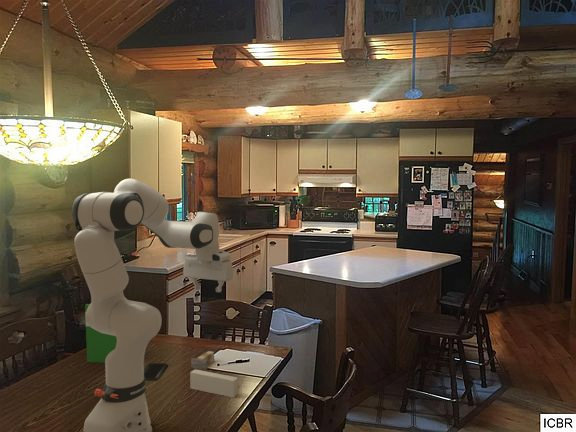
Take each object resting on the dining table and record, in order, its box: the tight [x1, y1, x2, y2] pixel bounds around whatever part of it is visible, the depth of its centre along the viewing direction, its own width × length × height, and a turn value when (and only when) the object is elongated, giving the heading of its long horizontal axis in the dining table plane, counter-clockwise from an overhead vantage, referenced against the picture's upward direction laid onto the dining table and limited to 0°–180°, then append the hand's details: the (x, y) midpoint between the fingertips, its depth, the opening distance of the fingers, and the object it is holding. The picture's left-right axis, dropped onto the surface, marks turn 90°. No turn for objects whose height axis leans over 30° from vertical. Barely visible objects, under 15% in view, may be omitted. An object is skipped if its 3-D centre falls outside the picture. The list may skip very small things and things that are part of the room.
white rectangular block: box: [189, 368, 239, 399], centre depth 175 cm, size 9×18×6 cm, turn 66°
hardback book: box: [84, 303, 117, 363], centre depth 202 cm, size 18×7×24 cm, turn 85°
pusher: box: [190, 350, 215, 371], centre depth 197 cm, size 9×7×4 cm
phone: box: [144, 362, 169, 382], centre depth 189 cm, size 8×1×15 cm
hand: (207, 290), depth 183 cm, fingers open, 8 cm apart
